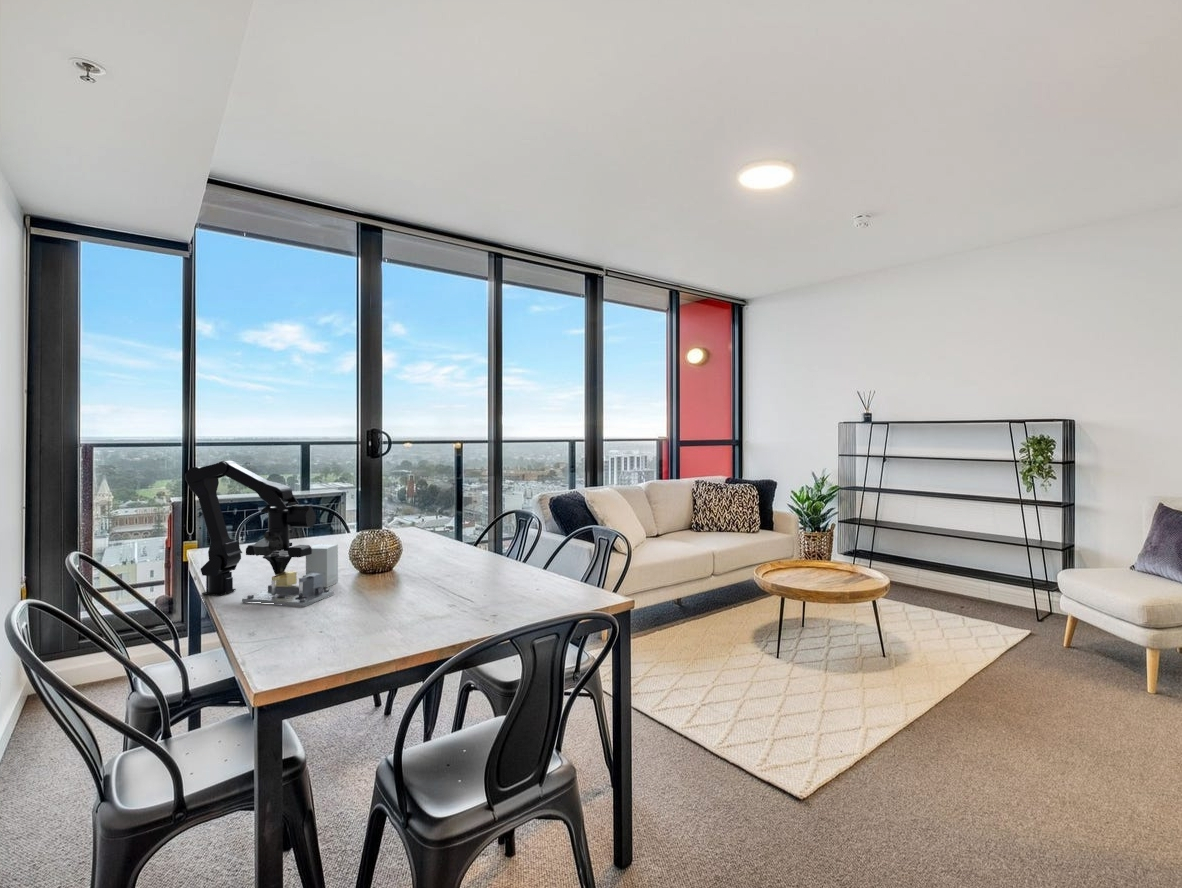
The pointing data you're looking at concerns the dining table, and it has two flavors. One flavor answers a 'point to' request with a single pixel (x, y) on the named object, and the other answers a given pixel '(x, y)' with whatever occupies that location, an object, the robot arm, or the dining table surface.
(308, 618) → the dining table surface
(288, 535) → the robot arm
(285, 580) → the yellow chamfered block
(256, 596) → the bolt plate
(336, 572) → the supplement box
